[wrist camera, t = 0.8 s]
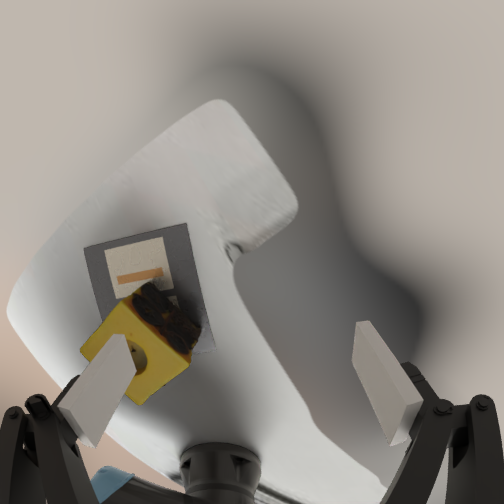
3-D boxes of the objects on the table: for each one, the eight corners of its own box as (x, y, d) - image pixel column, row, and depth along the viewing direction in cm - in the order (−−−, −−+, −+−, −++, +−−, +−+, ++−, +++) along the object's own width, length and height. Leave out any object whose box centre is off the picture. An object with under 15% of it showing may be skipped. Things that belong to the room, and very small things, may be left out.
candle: (203, 330, 37) (194, 365, 27) (158, 370, 37) (140, 409, 27) (149, 277, 36) (122, 297, 26) (108, 323, 36) (77, 351, 26)
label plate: (216, 350, 38) (216, 350, 37) (117, 362, 37) (117, 362, 37) (186, 223, 35) (186, 223, 35) (83, 248, 35) (83, 248, 35)
